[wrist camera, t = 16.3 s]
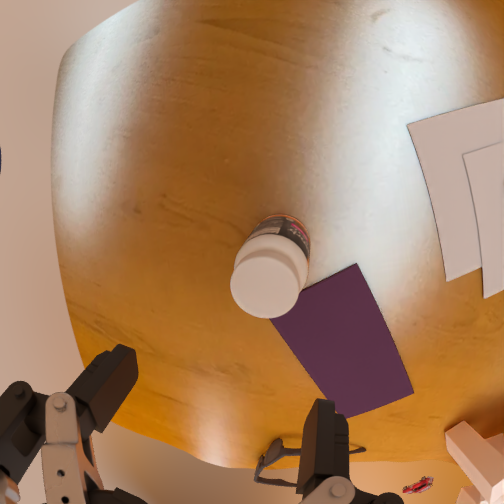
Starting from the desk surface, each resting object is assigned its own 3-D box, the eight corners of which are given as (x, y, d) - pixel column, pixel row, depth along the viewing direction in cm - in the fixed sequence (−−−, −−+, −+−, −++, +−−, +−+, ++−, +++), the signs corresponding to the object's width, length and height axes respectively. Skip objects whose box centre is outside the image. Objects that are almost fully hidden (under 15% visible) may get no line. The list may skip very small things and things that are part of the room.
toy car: (400, 487, 43) (401, 498, 40) (428, 473, 40) (429, 484, 37) (408, 489, 43) (409, 499, 41) (435, 475, 40) (436, 486, 37)
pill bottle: (319, 255, 28) (321, 310, 19) (267, 276, 30) (247, 334, 21) (294, 202, 27) (285, 235, 18) (241, 227, 29) (207, 269, 20)
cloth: (263, 308, 31) (262, 309, 31) (356, 262, 28) (357, 264, 27) (342, 417, 36) (342, 419, 36) (413, 391, 32) (414, 393, 32)
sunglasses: (278, 426, 39) (276, 452, 34) (369, 437, 39) (373, 460, 35) (248, 464, 45) (245, 484, 41) (325, 473, 46) (326, 492, 41)
